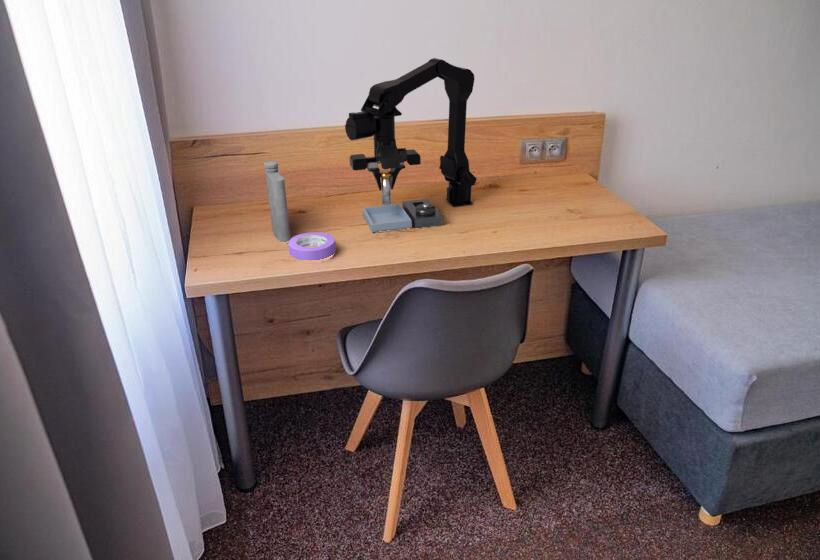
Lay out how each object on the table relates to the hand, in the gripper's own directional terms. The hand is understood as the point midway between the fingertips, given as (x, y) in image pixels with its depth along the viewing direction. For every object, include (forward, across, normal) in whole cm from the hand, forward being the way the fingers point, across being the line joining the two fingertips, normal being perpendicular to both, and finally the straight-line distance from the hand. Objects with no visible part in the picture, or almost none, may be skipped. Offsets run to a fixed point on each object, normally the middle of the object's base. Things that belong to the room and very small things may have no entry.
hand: (386, 189), depth 174 cm
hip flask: (+10, -30, +1) cm, 32 cm away
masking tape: (+10, -23, -15) cm, 29 cm away
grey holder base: (+10, +10, 0) cm, 14 cm away
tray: (+10, 0, 0) cm, 10 cm away
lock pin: (+4, 0, 0) cm, 4 cm away
